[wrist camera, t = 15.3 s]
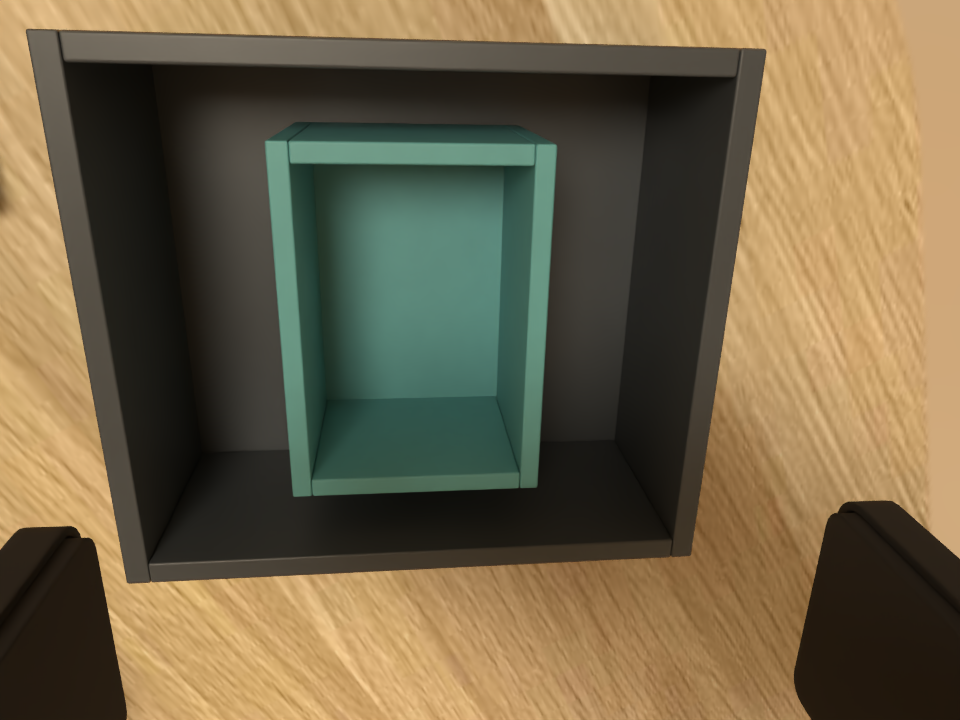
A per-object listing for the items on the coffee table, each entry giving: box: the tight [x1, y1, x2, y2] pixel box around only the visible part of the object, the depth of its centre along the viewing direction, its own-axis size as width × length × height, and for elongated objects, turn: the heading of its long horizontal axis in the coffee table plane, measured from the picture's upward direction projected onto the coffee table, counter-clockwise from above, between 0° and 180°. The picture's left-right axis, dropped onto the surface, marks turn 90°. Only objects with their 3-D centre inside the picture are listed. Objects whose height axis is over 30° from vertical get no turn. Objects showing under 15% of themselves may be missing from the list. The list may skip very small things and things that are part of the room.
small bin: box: [265, 122, 557, 497], centre depth 21 cm, size 6×9×6 cm
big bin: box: [26, 29, 766, 583], centre depth 21 cm, size 15×13×6 cm
